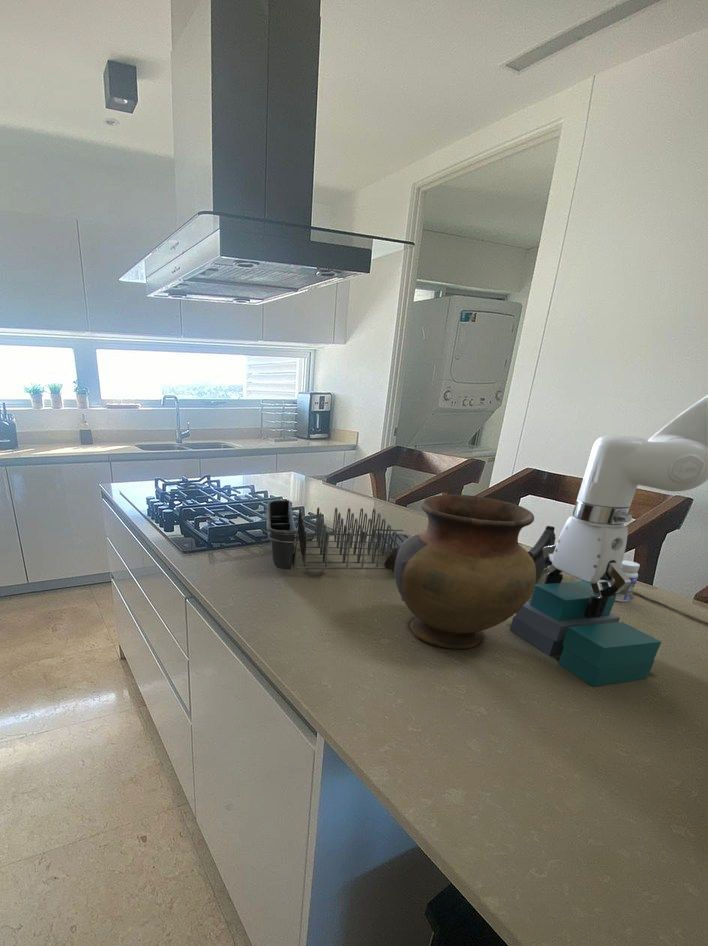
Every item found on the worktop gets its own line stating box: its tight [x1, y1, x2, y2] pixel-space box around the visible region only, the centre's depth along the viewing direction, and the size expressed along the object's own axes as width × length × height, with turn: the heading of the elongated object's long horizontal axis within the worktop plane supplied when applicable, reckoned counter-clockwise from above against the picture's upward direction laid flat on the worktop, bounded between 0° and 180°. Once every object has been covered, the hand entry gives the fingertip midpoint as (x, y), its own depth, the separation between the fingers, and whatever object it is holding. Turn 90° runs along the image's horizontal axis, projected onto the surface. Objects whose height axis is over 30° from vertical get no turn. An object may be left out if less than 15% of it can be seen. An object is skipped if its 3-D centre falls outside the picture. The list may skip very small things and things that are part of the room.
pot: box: [383, 494, 537, 650], centre depth 87 cm, size 25×24×25 cm
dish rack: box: [265, 499, 412, 577], centre depth 128 cm, size 34×44×12 cm
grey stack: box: [509, 601, 621, 657], centre depth 90 cm, size 14×10×6 cm
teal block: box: [529, 580, 616, 621], centre depth 88 cm, size 11×7×4 cm, turn 104°
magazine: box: [527, 525, 556, 582], centre depth 115 cm, size 17×3×30 cm
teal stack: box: [558, 621, 662, 687], centre depth 80 cm, size 11×7×7 cm, turn 104°
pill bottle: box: [610, 559, 641, 603], centre depth 108 cm, size 5×5×8 cm
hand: (569, 605), depth 89 cm, fingers open, 9 cm apart
